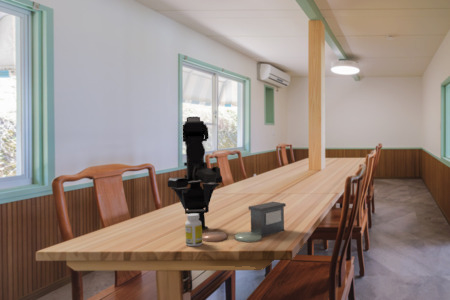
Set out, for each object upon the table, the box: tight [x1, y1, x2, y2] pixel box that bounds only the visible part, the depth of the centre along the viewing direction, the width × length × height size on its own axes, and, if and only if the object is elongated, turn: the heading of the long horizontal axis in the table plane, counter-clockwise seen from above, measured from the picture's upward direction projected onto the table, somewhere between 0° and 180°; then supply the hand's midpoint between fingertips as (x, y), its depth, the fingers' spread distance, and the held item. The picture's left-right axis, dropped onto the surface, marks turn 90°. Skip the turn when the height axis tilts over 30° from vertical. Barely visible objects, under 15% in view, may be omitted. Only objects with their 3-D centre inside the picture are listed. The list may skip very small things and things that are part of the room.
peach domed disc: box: [202, 231, 227, 243], centre depth 129 cm, size 9×9×1 cm
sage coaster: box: [234, 231, 262, 243], centre depth 127 cm, size 9×9×1 cm
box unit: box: [248, 201, 287, 238], centre depth 134 cm, size 6×13×10 cm, turn 131°
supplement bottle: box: [184, 213, 203, 247], centre depth 122 cm, size 5×5×10 cm
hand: (196, 206), depth 122 cm, fingers open, 9 cm apart
